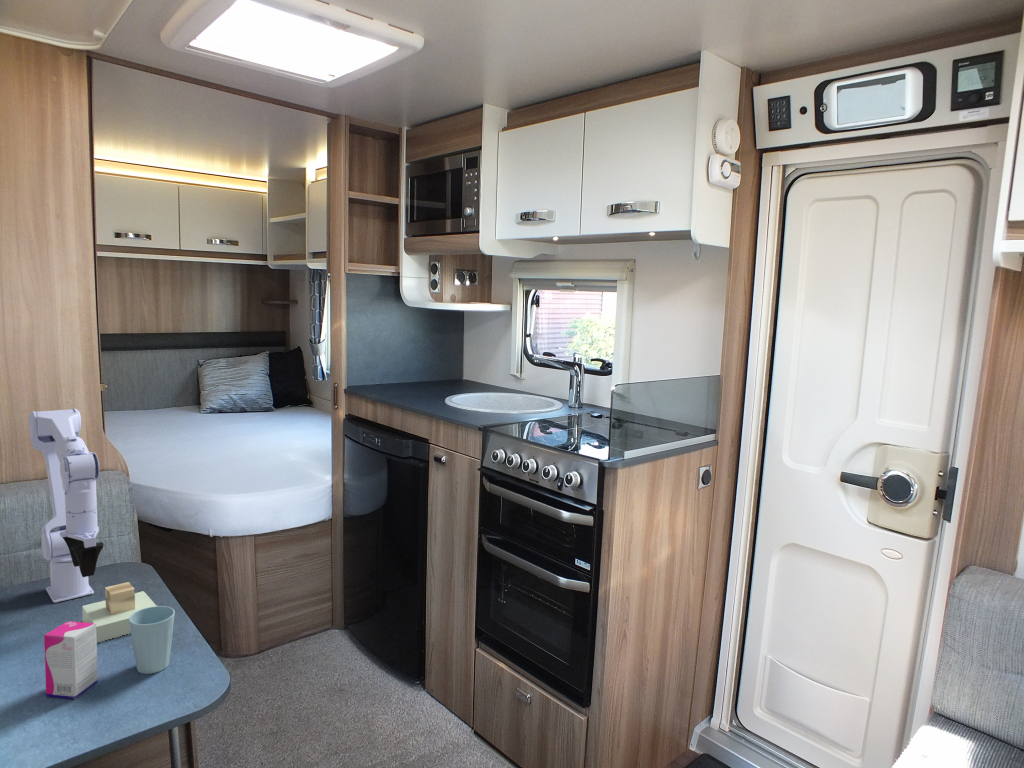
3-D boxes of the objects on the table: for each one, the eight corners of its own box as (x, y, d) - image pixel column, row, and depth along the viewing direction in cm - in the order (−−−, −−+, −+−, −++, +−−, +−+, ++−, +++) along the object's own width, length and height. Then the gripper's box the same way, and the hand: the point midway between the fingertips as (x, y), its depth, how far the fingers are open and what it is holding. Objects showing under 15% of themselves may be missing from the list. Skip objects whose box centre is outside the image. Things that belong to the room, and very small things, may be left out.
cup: (158, 679, 123) (157, 626, 122) (120, 675, 124) (119, 622, 123) (183, 658, 131) (183, 608, 129) (147, 654, 132) (146, 604, 130)
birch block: (105, 607, 143) (105, 587, 142) (129, 601, 146) (128, 581, 145) (111, 615, 139) (110, 594, 139) (135, 608, 142) (134, 588, 142)
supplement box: (99, 681, 122) (97, 622, 120) (75, 700, 116) (72, 638, 114) (70, 678, 122) (67, 619, 121) (44, 697, 116) (41, 635, 115)
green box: (82, 623, 143) (82, 605, 143) (143, 607, 151) (143, 591, 151) (96, 645, 135) (96, 626, 134) (160, 627, 143) (160, 610, 143)
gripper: (52, 505, 145) (55, 565, 147) (66, 521, 135) (69, 585, 136) (89, 499, 150) (91, 557, 151) (106, 514, 140) (108, 576, 141)
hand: (83, 570), depth 144 cm, fingers open, 7 cm apart
